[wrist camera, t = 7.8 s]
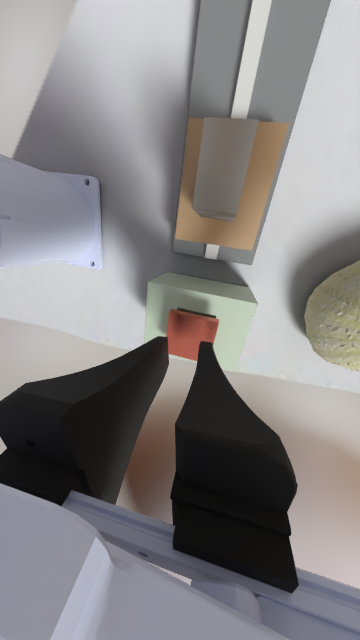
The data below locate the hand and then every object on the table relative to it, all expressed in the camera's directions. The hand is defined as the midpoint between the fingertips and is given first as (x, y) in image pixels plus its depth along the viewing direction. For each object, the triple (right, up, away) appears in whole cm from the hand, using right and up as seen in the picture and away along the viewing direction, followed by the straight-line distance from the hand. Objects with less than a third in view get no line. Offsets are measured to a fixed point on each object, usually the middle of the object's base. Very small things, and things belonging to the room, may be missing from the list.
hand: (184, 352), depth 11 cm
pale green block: (+2, +3, +7) cm, 8 cm away
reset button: (+1, +2, +4) cm, 4 cm away
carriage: (+3, +11, +2) cm, 12 cm away
